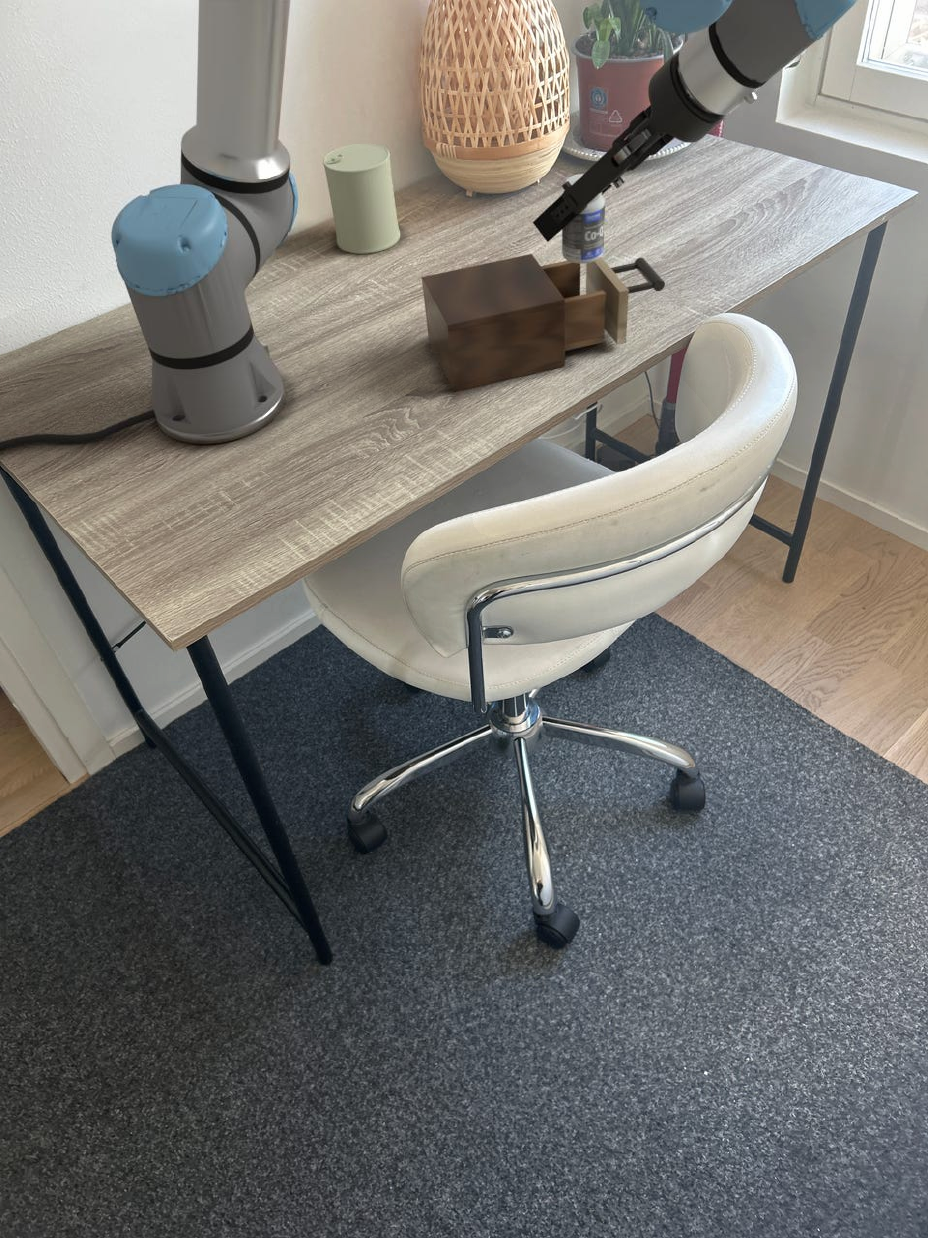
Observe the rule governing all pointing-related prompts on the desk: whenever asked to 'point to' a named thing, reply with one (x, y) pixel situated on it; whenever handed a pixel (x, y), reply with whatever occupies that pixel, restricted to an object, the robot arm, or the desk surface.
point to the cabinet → (495, 321)
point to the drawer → (597, 299)
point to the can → (362, 197)
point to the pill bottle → (585, 231)
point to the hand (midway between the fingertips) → (554, 220)
